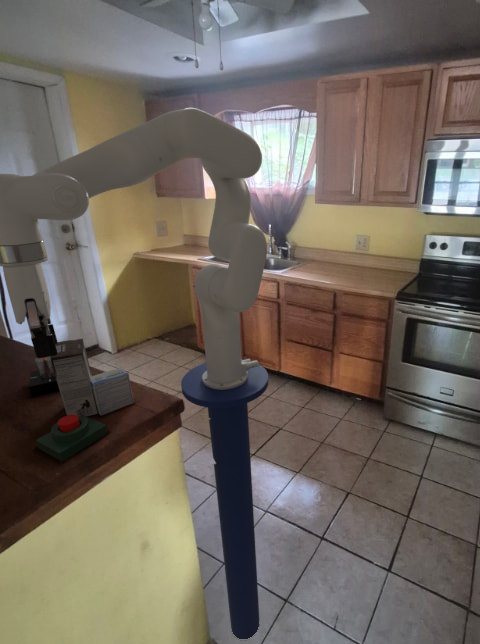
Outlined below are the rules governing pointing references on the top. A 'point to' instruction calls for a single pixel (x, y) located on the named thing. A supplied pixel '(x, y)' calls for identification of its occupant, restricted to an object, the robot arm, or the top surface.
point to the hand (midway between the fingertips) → (47, 349)
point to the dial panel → (42, 384)
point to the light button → (68, 423)
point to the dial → (45, 367)
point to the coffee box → (74, 378)
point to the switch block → (71, 438)
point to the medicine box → (112, 390)
